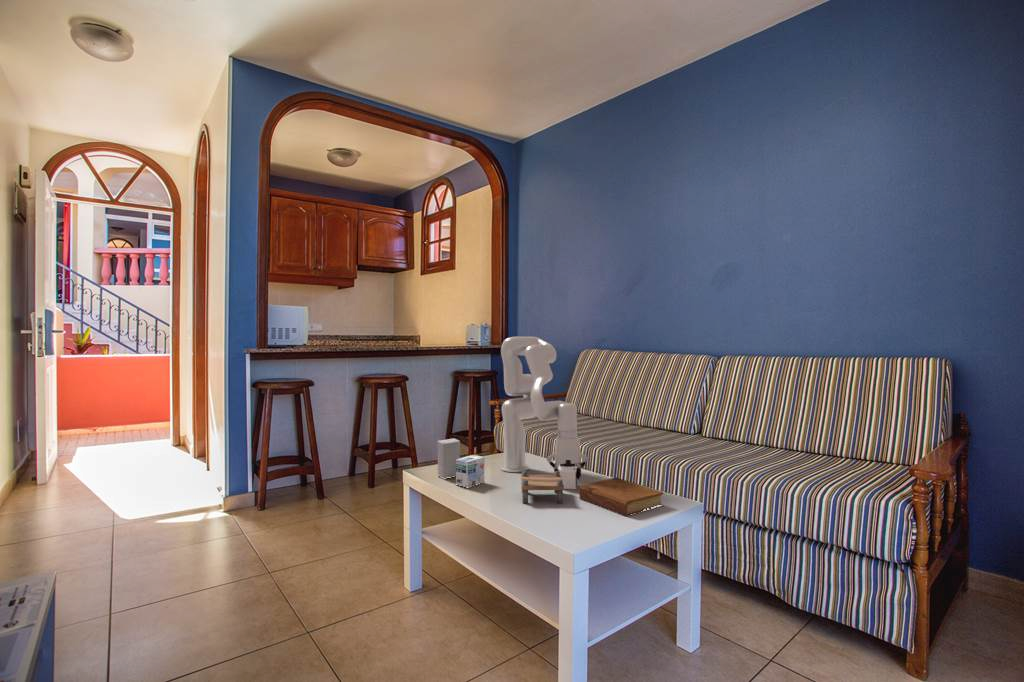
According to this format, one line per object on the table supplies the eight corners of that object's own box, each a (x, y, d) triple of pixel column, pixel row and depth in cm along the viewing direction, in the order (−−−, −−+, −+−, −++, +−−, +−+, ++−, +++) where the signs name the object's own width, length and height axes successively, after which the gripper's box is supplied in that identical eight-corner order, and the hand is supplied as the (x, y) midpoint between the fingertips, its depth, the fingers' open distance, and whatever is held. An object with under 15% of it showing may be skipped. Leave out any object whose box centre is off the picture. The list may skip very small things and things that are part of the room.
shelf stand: (521, 491, 203) (521, 471, 203) (560, 491, 203) (560, 470, 203) (521, 504, 188) (521, 481, 188) (563, 504, 188) (563, 481, 188)
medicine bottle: (576, 489, 205) (576, 459, 205) (557, 489, 207) (557, 458, 207) (577, 484, 212) (577, 455, 212) (559, 484, 214) (559, 454, 214)
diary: (579, 501, 194) (579, 485, 194) (616, 492, 204) (615, 477, 204) (625, 518, 175) (625, 501, 175) (663, 507, 185) (663, 491, 185)
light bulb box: (467, 488, 207) (467, 461, 207) (455, 486, 212) (455, 459, 211) (485, 482, 216) (485, 456, 216) (472, 480, 220) (472, 454, 220)
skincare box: (454, 473, 230) (454, 437, 230) (461, 477, 224) (461, 440, 224) (436, 476, 226) (436, 439, 225) (443, 480, 220) (443, 442, 219)
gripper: (546, 436, 206) (546, 481, 206) (590, 436, 206) (590, 481, 206) (544, 432, 213) (545, 476, 213) (588, 432, 213) (588, 475, 213)
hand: (567, 478), depth 209 cm, fingers closed on medicine bottle, 7 cm apart
